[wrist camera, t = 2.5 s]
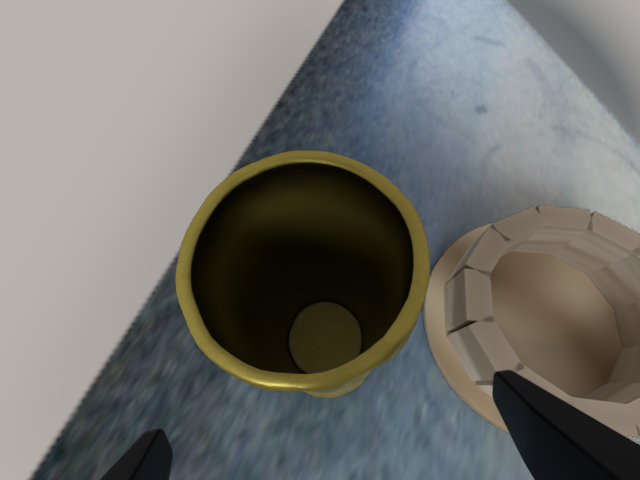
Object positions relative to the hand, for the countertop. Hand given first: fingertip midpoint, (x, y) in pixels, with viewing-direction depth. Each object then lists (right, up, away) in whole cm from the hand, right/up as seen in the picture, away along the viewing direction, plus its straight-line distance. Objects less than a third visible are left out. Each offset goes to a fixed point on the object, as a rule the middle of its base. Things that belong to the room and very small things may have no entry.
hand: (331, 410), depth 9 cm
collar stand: (+12, 0, +11) cm, 16 cm away
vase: (0, -1, +11) cm, 11 cm away
